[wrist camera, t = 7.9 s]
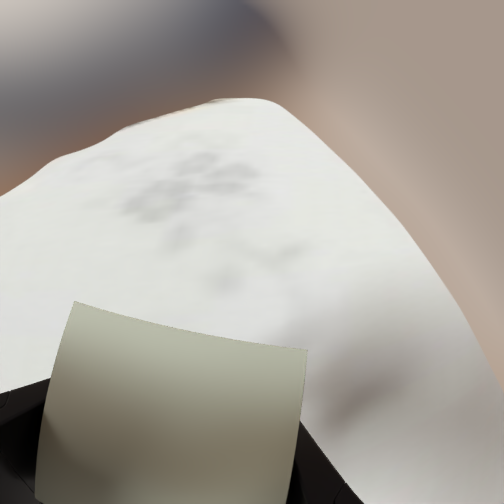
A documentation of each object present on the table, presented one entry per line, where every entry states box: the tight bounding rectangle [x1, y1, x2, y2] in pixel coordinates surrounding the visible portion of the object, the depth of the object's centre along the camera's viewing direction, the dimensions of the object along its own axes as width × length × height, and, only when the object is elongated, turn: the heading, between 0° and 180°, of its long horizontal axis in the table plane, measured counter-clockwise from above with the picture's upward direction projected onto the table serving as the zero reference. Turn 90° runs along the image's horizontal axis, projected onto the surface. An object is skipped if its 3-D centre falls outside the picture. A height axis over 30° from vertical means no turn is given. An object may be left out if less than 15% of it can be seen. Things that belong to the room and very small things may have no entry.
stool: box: [35, 301, 308, 504], centre depth 9 cm, size 6×6×10 cm
